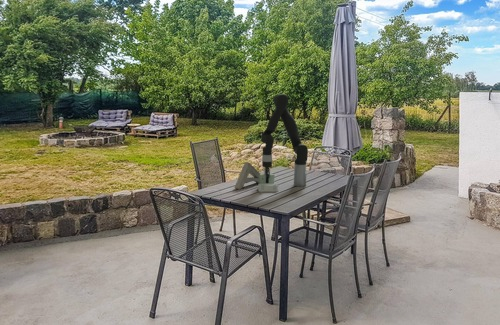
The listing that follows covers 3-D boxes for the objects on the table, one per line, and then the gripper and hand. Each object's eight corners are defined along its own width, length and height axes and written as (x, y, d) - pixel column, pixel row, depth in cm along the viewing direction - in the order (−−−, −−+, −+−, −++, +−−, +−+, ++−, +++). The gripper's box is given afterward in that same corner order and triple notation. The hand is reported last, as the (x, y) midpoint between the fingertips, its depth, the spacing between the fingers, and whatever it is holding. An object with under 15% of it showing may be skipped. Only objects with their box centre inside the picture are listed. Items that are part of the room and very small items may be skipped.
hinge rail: (276, 189, 289) (276, 182, 288) (278, 191, 281) (278, 185, 280) (258, 189, 287) (258, 182, 287) (259, 191, 280) (259, 185, 279)
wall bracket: (257, 204, 306) (238, 188, 284) (252, 203, 309) (234, 187, 286) (266, 179, 314) (249, 162, 291) (262, 179, 316) (244, 162, 294)
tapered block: (273, 184, 294) (273, 174, 293) (274, 185, 291) (274, 174, 290) (259, 185, 293) (259, 174, 292) (260, 185, 290) (260, 175, 289)
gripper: (273, 161, 283) (273, 184, 286) (270, 159, 297) (270, 180, 299) (263, 162, 282) (263, 184, 285) (261, 159, 296) (260, 180, 299)
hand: (266, 182), depth 292 cm, fingers closed on tapered block, 2 cm apart
